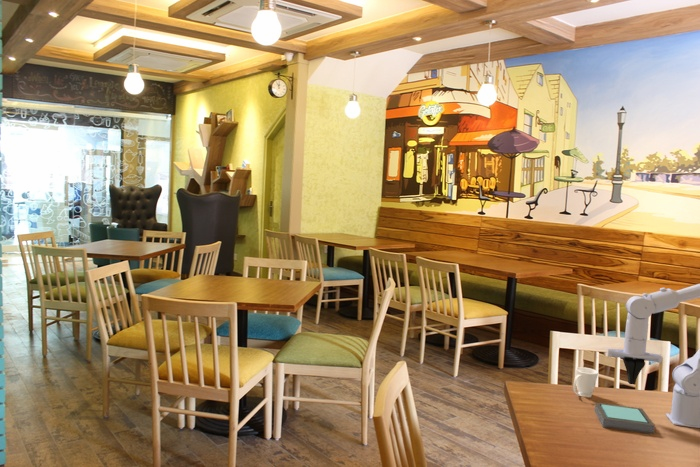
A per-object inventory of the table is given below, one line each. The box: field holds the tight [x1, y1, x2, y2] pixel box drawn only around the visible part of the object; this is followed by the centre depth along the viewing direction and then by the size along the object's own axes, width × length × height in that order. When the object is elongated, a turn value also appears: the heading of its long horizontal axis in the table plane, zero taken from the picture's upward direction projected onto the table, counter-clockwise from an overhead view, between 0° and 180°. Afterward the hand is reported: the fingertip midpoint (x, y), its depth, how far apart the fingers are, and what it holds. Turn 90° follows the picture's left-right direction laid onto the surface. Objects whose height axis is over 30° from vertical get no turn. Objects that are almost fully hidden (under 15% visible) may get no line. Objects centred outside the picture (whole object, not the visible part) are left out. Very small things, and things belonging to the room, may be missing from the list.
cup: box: [572, 366, 599, 398], centre depth 183 cm, size 7×10×8 cm
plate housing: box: [594, 401, 655, 435], centre depth 163 cm, size 13×13×2 cm
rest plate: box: [601, 404, 648, 423], centre depth 163 cm, size 10×10×2 cm
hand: (631, 383), depth 169 cm, fingers closed
